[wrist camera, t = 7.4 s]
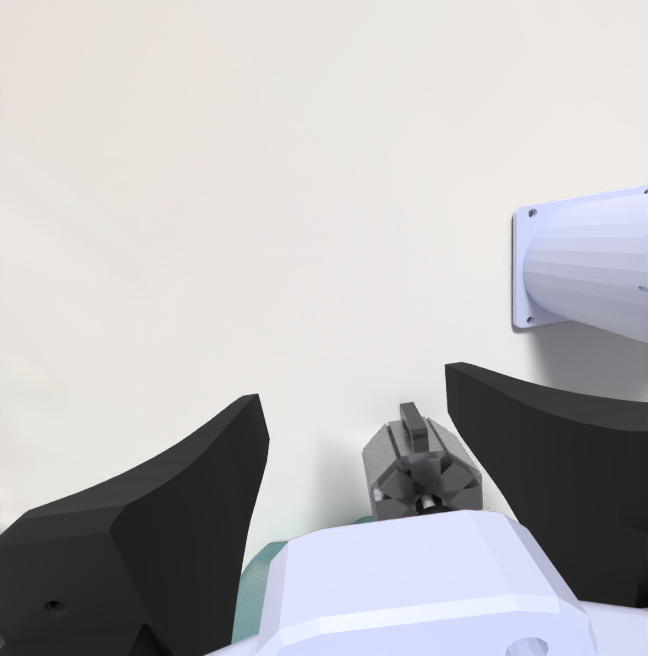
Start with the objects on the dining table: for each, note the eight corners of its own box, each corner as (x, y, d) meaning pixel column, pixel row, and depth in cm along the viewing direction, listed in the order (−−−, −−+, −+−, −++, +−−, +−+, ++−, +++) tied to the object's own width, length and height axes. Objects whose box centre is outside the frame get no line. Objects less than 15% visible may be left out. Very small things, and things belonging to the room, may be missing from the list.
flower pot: (241, 526, 27) (202, 663, 18) (341, 516, 26) (351, 650, 18) (259, 597, 29) (232, 749, 20) (351, 589, 29) (363, 739, 20)
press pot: (454, 391, 23) (484, 425, 19) (459, 491, 26) (487, 540, 21) (354, 406, 23) (361, 443, 19) (370, 503, 26) (379, 554, 22)
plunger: (432, 449, 23) (468, 519, 17) (434, 480, 24) (470, 558, 18) (393, 454, 23) (416, 526, 18) (396, 486, 24) (420, 564, 18)
